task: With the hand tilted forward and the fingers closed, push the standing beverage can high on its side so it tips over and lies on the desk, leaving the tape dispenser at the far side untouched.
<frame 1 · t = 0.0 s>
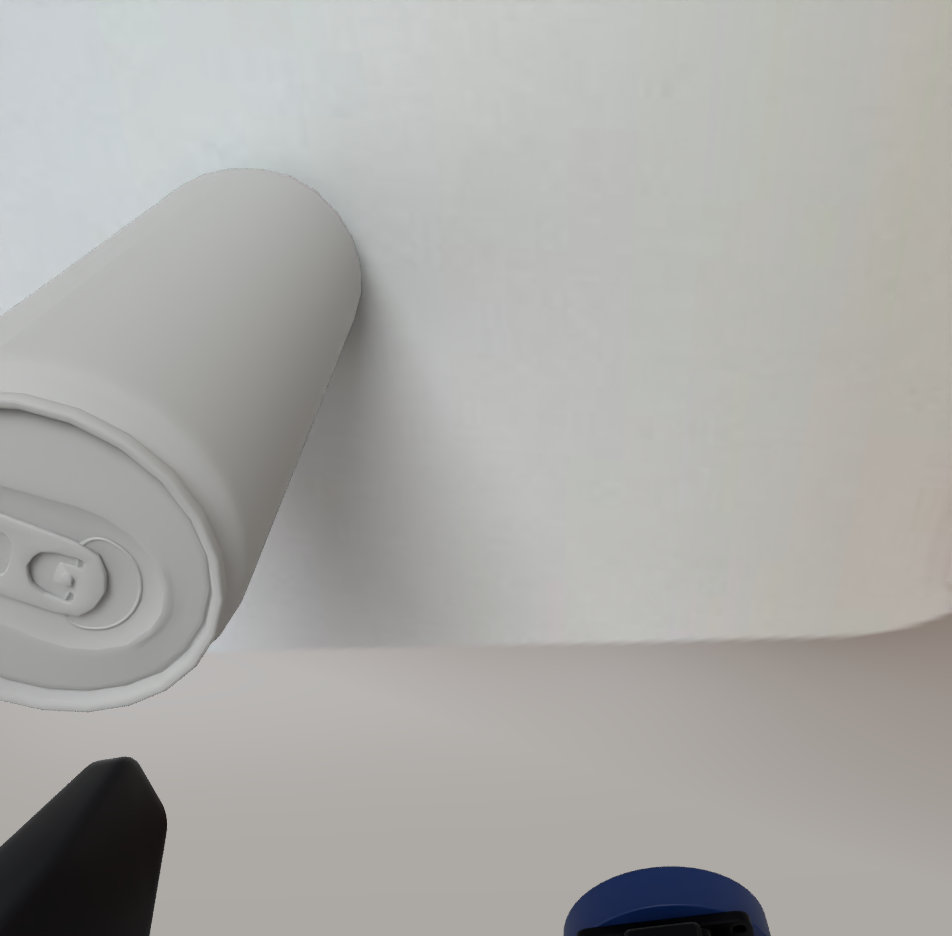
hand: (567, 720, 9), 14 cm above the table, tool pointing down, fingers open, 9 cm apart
beverage can: (264, 263, 21), on the table
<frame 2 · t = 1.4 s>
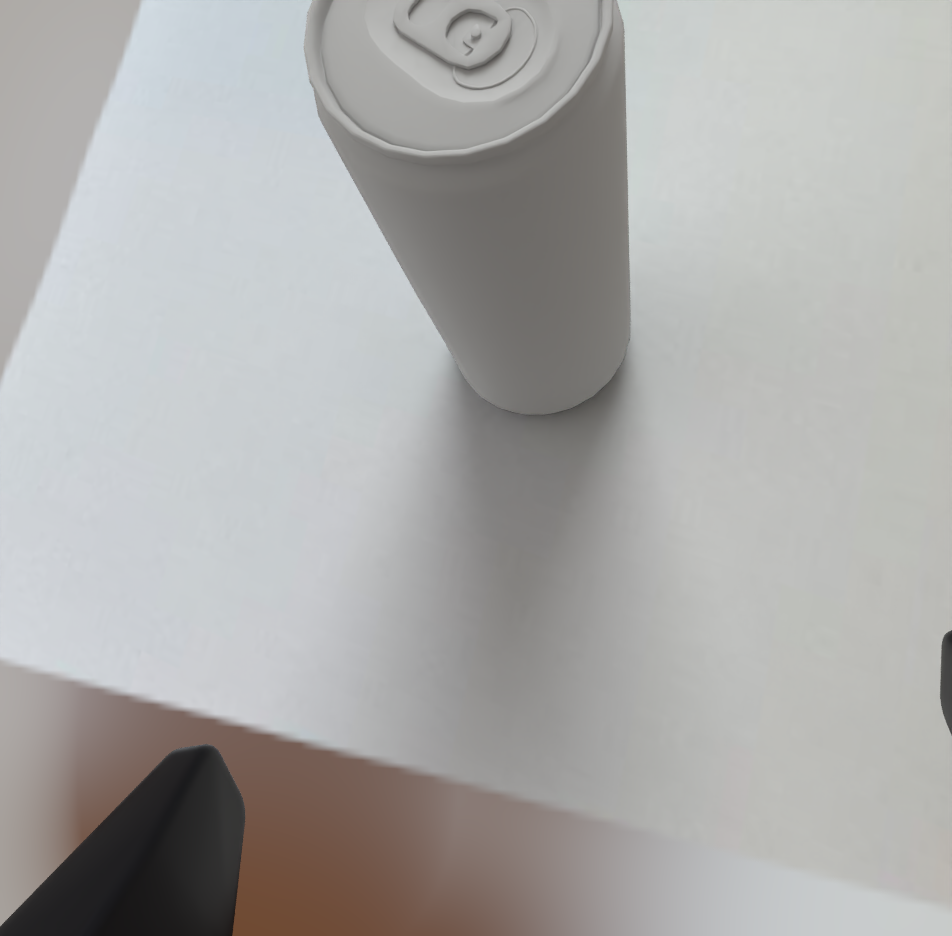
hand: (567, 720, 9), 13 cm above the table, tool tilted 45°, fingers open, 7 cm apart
beverage can: (541, 339, 25), on the table
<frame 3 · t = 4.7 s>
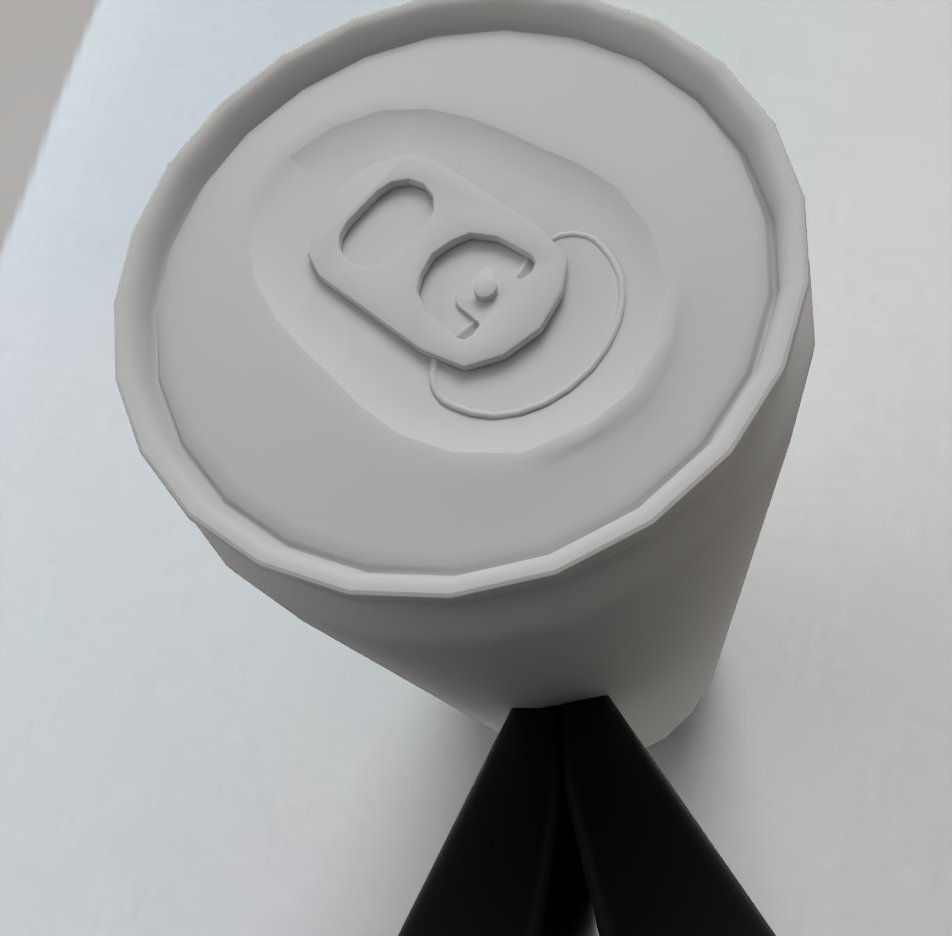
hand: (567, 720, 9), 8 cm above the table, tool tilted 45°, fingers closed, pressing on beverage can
beverage can: (586, 630, 17), on the table, touching gripper
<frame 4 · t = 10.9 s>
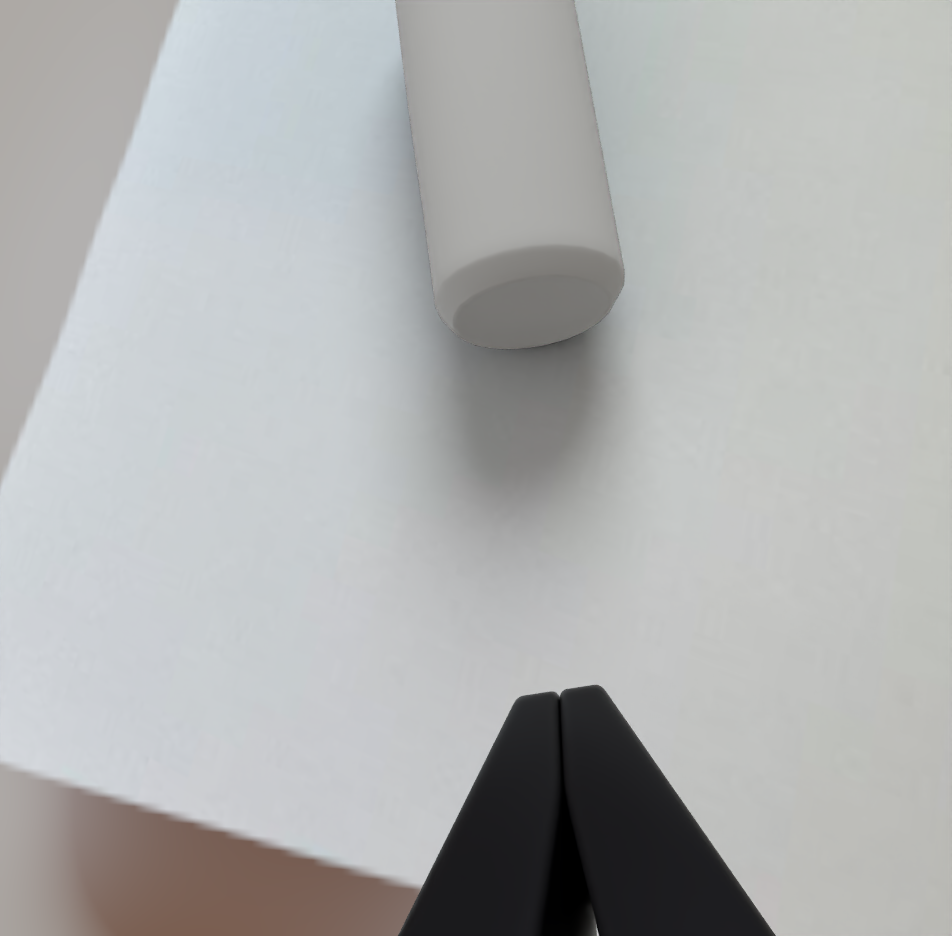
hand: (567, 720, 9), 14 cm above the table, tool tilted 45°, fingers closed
beverage can: (532, 323, 22), point 2 cm above the table
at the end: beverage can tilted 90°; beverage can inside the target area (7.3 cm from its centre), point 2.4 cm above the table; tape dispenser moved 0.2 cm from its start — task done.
